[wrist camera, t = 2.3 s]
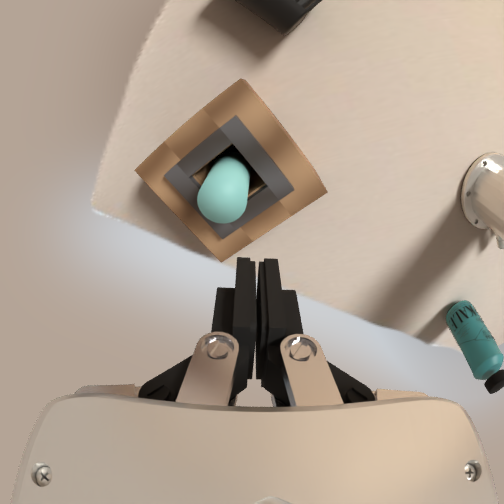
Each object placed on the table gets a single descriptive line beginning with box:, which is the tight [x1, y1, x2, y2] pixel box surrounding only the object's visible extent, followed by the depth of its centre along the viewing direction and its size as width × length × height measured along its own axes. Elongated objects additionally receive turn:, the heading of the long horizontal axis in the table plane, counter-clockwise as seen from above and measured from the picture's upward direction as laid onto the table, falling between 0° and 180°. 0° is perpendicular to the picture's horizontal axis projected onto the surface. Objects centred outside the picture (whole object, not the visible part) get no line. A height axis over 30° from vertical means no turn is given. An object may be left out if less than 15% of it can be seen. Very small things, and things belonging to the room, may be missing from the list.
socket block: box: [135, 79, 327, 262], centre depth 32 cm, size 14×14×9 cm
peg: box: [197, 152, 251, 223], centre depth 28 cm, size 4×4×9 cm
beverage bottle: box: [446, 301, 504, 394], centre depth 40 cm, size 6×7×20 cm
